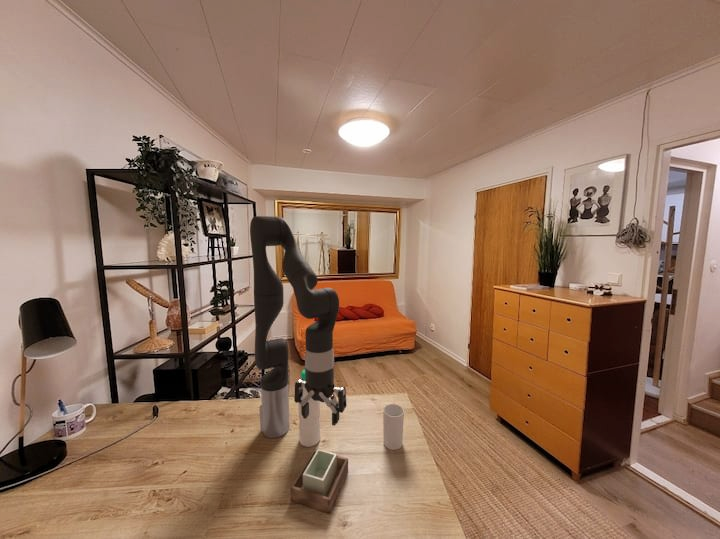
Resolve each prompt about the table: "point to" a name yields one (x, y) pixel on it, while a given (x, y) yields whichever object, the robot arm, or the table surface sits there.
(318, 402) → the water bottle
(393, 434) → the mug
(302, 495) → the walnut crate
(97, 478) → the table surface
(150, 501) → the table surface
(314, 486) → the sage crate
